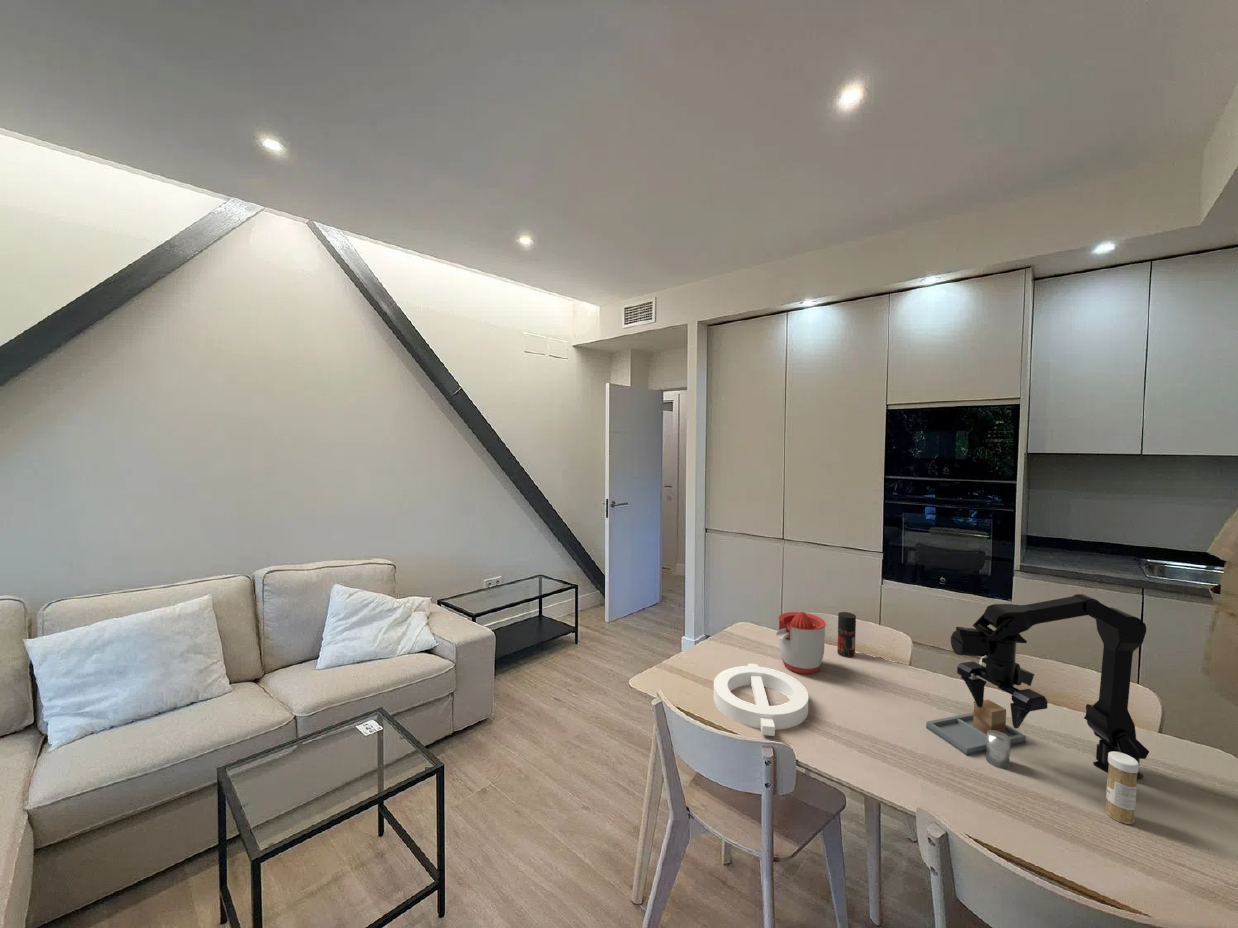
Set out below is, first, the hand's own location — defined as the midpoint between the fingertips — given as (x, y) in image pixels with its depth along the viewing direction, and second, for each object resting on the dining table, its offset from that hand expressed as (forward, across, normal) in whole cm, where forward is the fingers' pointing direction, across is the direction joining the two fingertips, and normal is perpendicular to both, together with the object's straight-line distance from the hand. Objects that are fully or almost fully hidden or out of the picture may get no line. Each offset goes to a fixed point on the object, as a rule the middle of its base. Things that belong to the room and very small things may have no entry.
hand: (997, 716), depth 121 cm
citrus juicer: (+12, +55, +20) cm, 59 cm away
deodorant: (+12, +59, -3) cm, 60 cm away
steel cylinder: (+11, -1, 0) cm, 11 cm away
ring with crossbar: (+12, +38, +44) cm, 60 cm away
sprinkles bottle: (+11, -21, -8) cm, 25 cm away
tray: (+11, +9, -4) cm, 15 cm away
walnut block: (+10, +9, -9) cm, 17 cm away
